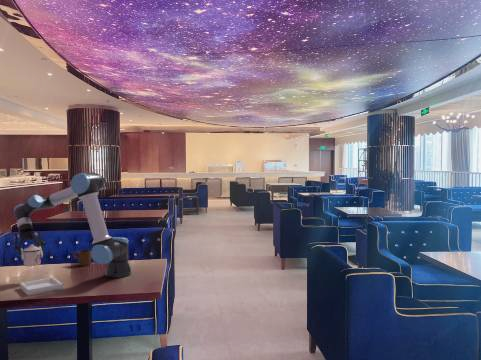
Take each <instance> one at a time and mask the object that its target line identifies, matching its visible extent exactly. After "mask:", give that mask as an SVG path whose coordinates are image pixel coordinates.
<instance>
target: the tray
mask: <svg viewBox="0 0 481 360" xmlns="http://www.w3.org/2000/svg"><path fill="white" fill-rule="evenodd" d="M19 289H20V290H21V291H22V292H23V293H24V294H26V295H27V297H30V296H35V295H40V294H45V293H51V292H56V291H60V290H64V283H62V282H61V281H59V280H58V279H56V278H55V277H47V278H41V279H35V280H29V281H23V282H20V283H19Z"/></svg>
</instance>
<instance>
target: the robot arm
mask: <svg viewBox="0 0 481 360" xmlns="http://www.w3.org/2000/svg"><path fill="white" fill-rule="evenodd" d="M104 186H105V180H104V178H103V176H102V175H101V174H99V173H96V172H81V173H77V174H75V175H74V176H73V177H72V179H71V180H70V187H67V188H65V189H61V190H59V191H57V192H54V193H52V194H50V195H49V194H48V195H47V196H40V195H38V194H33V195H32V196H30V197H28V199H27V200H26V201H25V202H24V203H19V204H18V205H17V204H16V205H15V207H14V209H13V212H14V213H13V214H14V217H15V221H16V225H17V229H18V233H15V234H14V236H13V238H14V245H13V251H17V253H18V255H19V256H21V260H22V261H24V253H23V250H24V249H23V248H22V246H23V245H24V243H25V241H32V242H33V243H34V244H35V245H36V247H38V248H40V249H41V250H40V259H42V258H43V256H44V254H43V253H44V247H45V246H46V242H45V240H44V239H43V237H42V235H41V232H40V231H37V232H35V231H34V227H33V223H32V220H31V215H32V214H34V212H35V211H39V210H47V209H48V210H49V209H53V208H55V207H57V205H58V206H59V205H61V204H63V203H65V202H68V201H71V200H73V199H76V198H78V199H79V200H81V202H82V204H83V207H84V211H85V215H86V218H87V221H88V224H89V225H88V226H89V228H90V232H91V235H92V238H93V241H92V243H91V244H92V248H91V250H90V251H91V260H93V261H94V263H97V264H98V265H106V264H107V266H106V270H105V277H106V278H110V279H114V278H115V279H119V278H126V277H129V276H131V275H132V269H131V266H130V263H129V239H128V238H127V237H119V236H117V237H115V236H114V237H112V236H110V234H109V232H108V228H107V225H106V222H105V221H106V220H105V218H104V215H103V211H102V208H101V205H100V201H99V198H98V195H99V193H100V191H101V190H102V189H103V187H104ZM19 238H20V239H21V240H20V243H19V244H18V242H19V241H18V240H19Z"/></svg>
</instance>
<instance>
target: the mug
mask: <svg viewBox="0 0 481 360" xmlns="http://www.w3.org/2000/svg"><path fill="white" fill-rule="evenodd" d="M91 251H92V250H90V249H83V250H79V251H73V252H72V257H73V259H75V260H78V265H79V266H81V267H86V266H90V265H91V264H92V257H91ZM77 255H78V256H77Z"/></svg>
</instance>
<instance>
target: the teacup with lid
mask: <svg viewBox="0 0 481 360" xmlns="http://www.w3.org/2000/svg"><path fill="white" fill-rule="evenodd" d="M40 250H41V249H40V248H39V247H38V246H37V245H36V246H35V245H34V244H29V246H27V247H25V248H24V249H23V253H24V260H23V266H24V267H36V266H39V265H40V264H41V261H42V260H41V257H40Z"/></svg>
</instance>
